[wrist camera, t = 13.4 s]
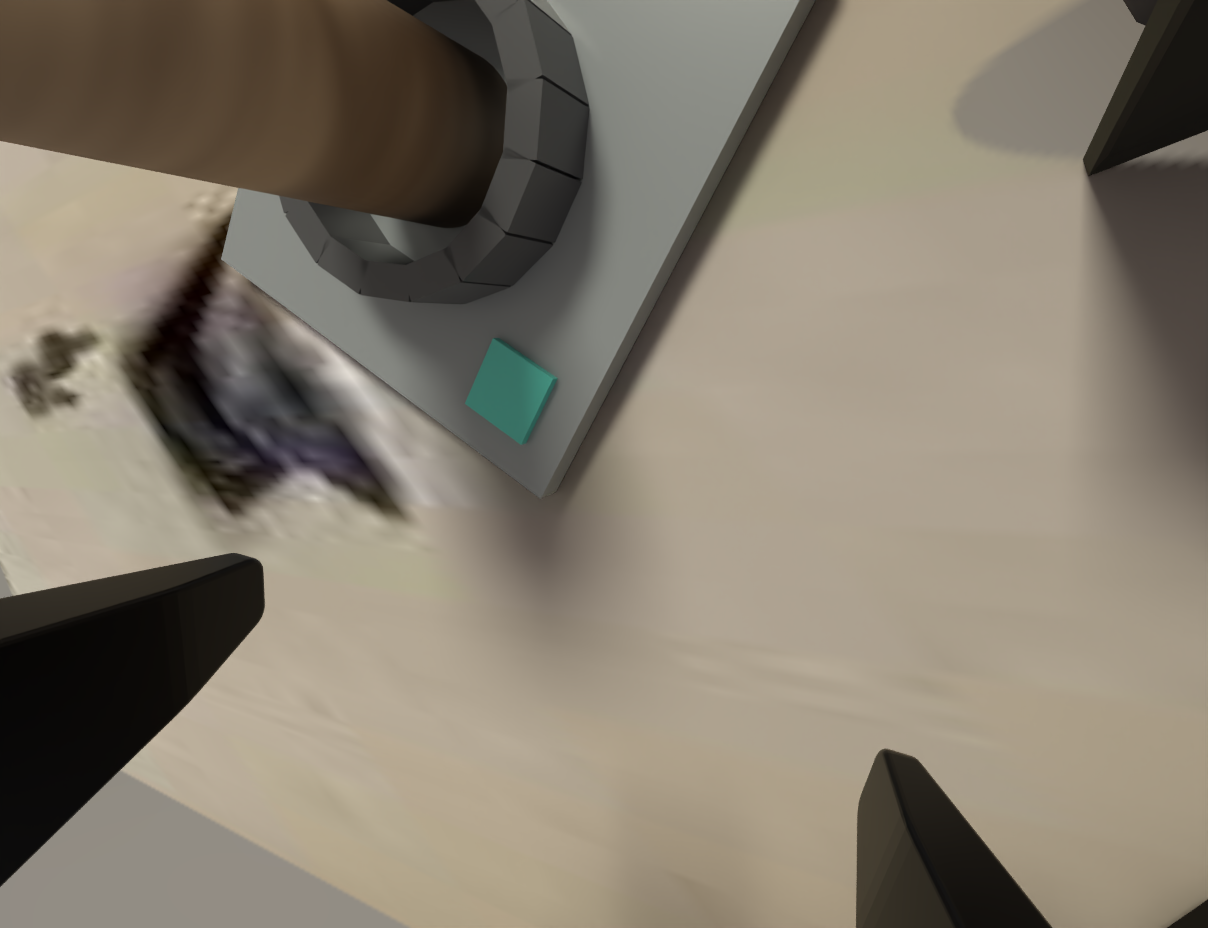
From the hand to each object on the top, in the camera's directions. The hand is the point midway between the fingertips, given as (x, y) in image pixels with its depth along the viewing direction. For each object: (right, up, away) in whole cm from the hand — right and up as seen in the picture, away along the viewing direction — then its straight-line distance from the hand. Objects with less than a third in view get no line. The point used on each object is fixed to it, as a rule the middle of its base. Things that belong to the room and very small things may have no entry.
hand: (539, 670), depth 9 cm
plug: (-4, +13, +11) cm, 17 cm away
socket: (-3, +13, +12) cm, 18 cm away
